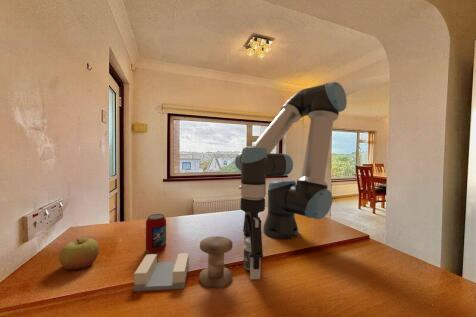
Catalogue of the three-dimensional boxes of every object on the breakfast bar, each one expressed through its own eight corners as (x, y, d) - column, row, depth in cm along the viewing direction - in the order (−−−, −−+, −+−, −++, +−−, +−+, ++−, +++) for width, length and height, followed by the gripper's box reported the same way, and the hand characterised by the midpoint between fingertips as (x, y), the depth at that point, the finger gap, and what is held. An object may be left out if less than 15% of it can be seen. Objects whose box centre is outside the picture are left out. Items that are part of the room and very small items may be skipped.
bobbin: (230, 268, 65) (231, 236, 65) (233, 287, 56) (233, 249, 56) (200, 269, 64) (200, 236, 64) (198, 289, 55) (198, 250, 55)
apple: (65, 260, 68) (65, 235, 68) (101, 255, 72) (101, 231, 72) (53, 277, 59) (53, 248, 59) (95, 270, 63) (95, 243, 63)
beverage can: (159, 254, 73) (159, 219, 72) (141, 252, 74) (141, 218, 74) (169, 246, 79) (169, 214, 79) (153, 244, 81) (153, 212, 80)
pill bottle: (243, 262, 69) (244, 236, 69) (258, 263, 69) (259, 237, 69) (243, 270, 64) (244, 243, 64) (259, 271, 64) (260, 243, 64)
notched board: (188, 264, 67) (189, 251, 67) (183, 288, 55) (183, 273, 55) (147, 265, 66) (147, 252, 66) (132, 291, 54) (133, 275, 54)
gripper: (236, 189, 77) (234, 248, 78) (246, 207, 53) (244, 292, 54) (256, 189, 78) (255, 248, 79) (276, 207, 54) (273, 291, 55)
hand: (251, 266), depth 67 cm, fingers open, 12 cm apart
